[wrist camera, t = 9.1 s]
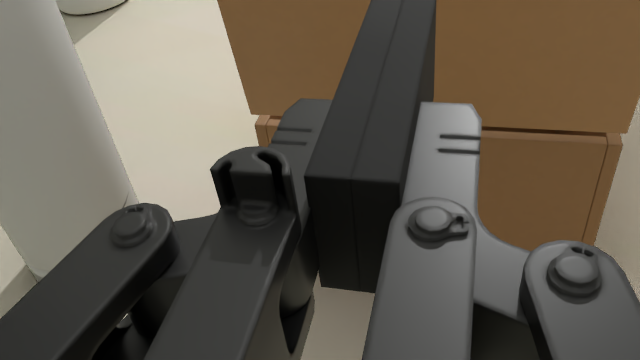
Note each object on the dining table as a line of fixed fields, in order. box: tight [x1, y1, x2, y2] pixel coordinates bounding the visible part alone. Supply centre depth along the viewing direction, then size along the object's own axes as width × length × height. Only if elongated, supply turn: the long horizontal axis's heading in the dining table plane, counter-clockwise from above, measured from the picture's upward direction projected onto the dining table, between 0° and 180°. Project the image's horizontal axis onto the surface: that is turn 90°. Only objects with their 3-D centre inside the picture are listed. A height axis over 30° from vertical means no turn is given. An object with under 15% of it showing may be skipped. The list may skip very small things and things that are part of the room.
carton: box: [255, 115, 623, 251], centre depth 31 cm, size 17×14×9 cm
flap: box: [217, 0, 640, 134], centre depth 19 cm, size 8×14×1 cm
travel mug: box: [0, 0, 139, 282], centre depth 25 cm, size 6×7×20 cm
